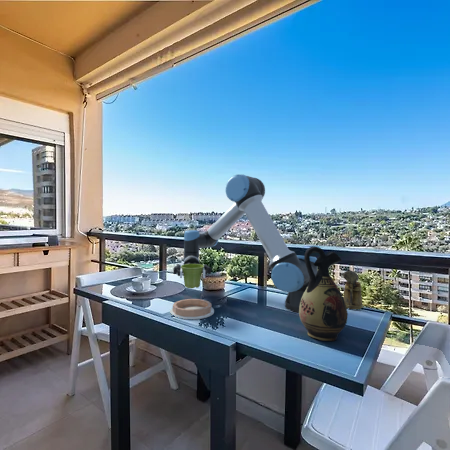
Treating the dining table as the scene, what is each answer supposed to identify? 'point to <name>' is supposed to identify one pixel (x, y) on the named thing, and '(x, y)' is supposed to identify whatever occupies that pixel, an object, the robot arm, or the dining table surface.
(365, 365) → the dining table surface
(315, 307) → the ceramic jug
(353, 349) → the dining table surface
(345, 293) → the stone figurine
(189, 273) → the plant pot
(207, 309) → the ring collar
